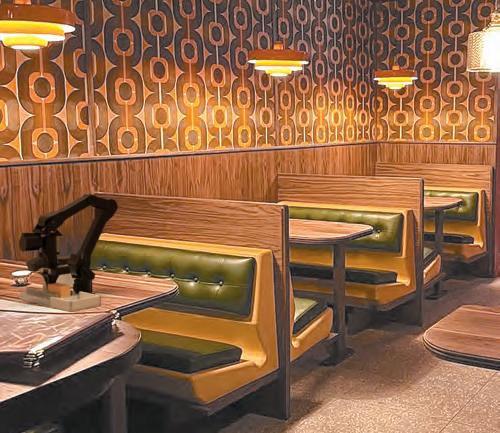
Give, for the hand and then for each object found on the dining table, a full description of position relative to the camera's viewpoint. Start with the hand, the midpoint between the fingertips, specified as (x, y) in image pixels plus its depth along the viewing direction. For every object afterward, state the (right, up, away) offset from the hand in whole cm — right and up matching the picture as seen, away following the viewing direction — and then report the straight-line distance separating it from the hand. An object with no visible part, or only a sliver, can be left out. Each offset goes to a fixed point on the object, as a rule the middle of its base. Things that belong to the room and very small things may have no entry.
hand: (50, 291), depth 258 cm
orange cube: (+6, -1, -5) cm, 8 cm away
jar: (-2, -1, +26) cm, 26 cm away
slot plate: (0, -3, 0) cm, 3 cm away
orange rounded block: (+3, -1, -2) cm, 4 cm away
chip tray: (+12, -4, -10) cm, 16 cm away
